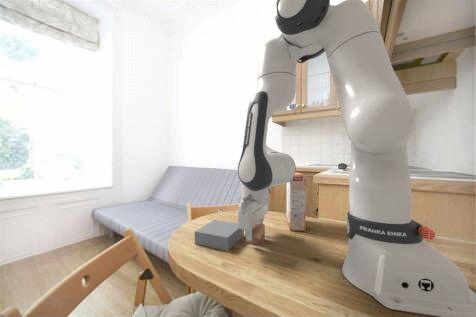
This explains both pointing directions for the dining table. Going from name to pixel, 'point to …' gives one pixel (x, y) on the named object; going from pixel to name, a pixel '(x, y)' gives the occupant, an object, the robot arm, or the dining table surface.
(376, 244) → the robot arm
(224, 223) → the base
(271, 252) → the dining table surface
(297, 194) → the cracker box
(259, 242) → the cube
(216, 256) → the dining table surface
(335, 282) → the dining table surface
